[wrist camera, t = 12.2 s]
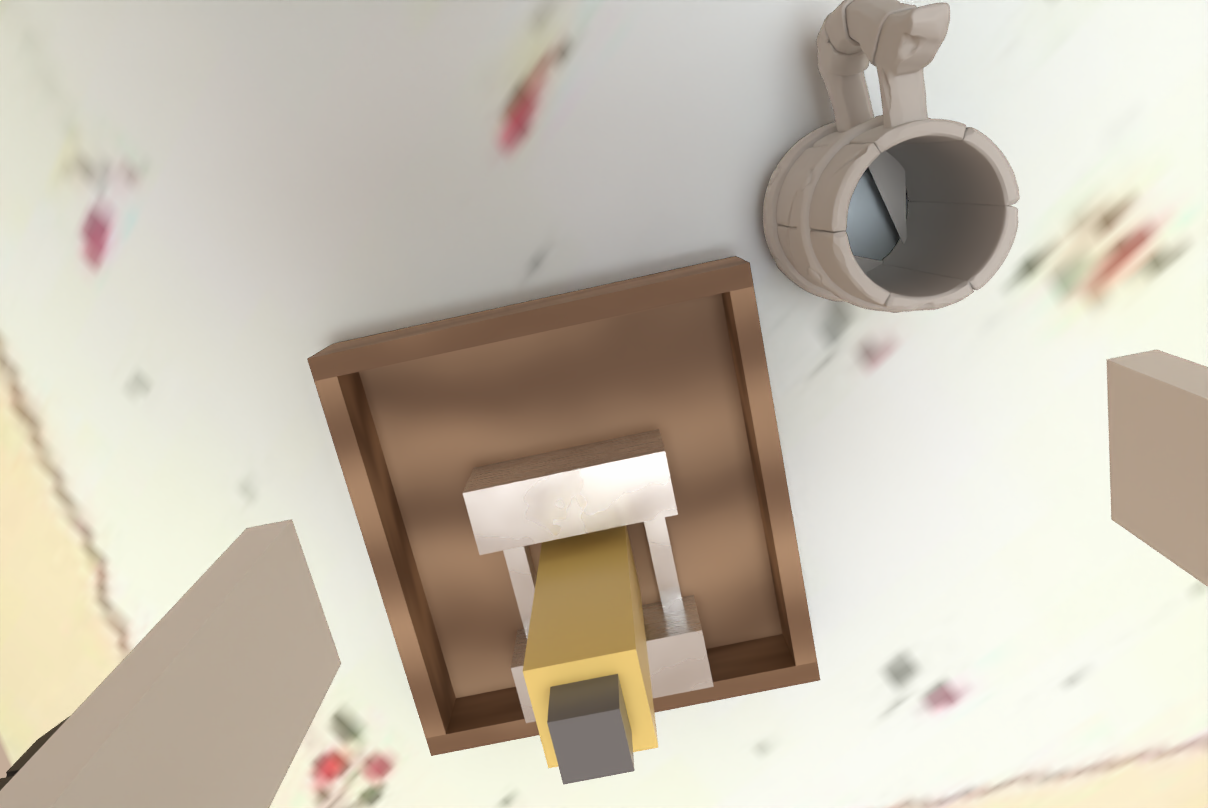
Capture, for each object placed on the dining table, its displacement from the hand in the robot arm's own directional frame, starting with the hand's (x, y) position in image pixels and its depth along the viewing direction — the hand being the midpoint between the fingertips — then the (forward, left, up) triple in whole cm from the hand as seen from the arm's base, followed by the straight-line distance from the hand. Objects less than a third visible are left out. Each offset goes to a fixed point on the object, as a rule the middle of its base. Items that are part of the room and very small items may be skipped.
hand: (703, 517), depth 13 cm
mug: (-4, +10, -26) cm, 28 cm away
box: (+9, -5, -26) cm, 27 cm away
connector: (+12, -5, -25) cm, 28 cm away
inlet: (+12, -5, -26) cm, 29 cm away
